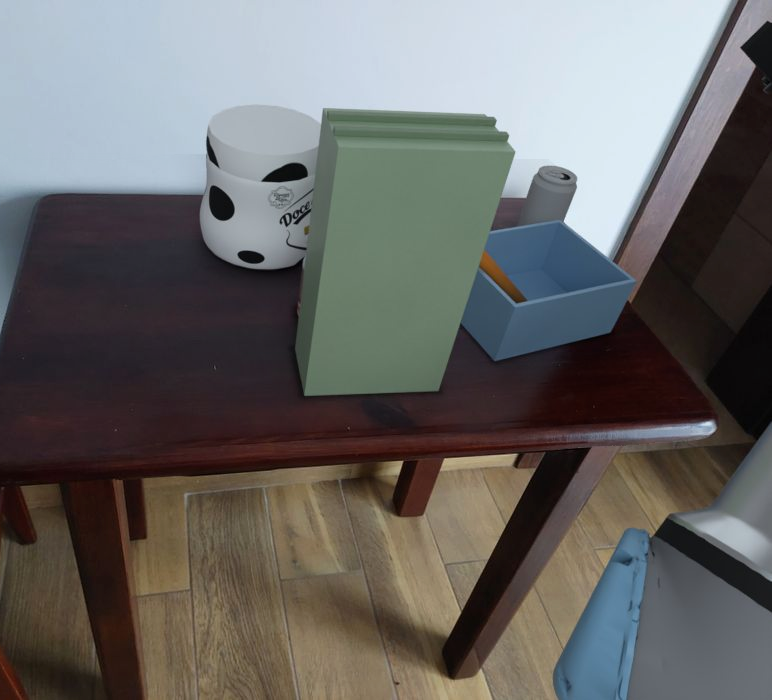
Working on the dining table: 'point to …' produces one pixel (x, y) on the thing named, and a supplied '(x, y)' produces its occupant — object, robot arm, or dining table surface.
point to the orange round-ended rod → (500, 278)
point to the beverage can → (548, 196)
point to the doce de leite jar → (259, 186)
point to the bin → (544, 291)
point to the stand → (394, 245)
